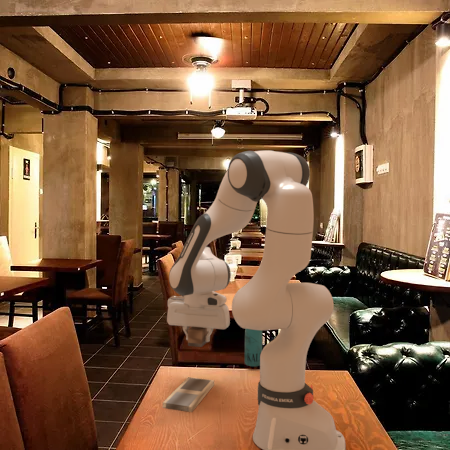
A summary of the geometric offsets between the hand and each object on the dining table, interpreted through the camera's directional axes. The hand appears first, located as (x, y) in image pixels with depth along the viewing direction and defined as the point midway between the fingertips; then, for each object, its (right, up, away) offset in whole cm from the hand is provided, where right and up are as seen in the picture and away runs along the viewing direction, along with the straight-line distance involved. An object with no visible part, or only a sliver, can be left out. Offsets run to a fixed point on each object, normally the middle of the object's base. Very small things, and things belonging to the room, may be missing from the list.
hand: (198, 340), depth 142 cm
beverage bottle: (+19, -15, +19) cm, 30 cm away
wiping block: (0, -1, +1) cm, 1 cm away
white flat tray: (-2, -15, -5) cm, 16 cm away
